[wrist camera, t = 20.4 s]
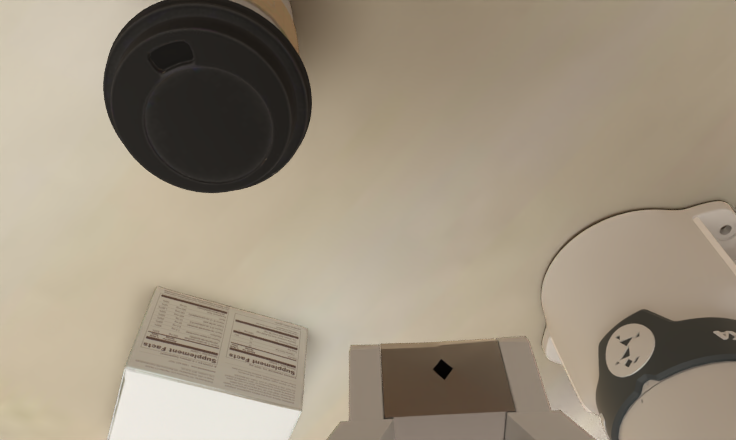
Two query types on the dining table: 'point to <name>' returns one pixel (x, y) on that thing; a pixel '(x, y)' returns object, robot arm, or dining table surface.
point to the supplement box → (210, 374)
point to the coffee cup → (209, 91)
